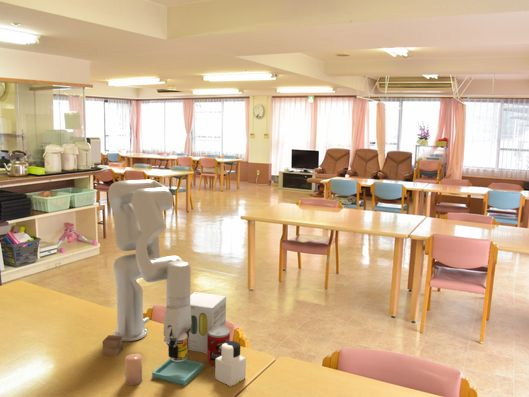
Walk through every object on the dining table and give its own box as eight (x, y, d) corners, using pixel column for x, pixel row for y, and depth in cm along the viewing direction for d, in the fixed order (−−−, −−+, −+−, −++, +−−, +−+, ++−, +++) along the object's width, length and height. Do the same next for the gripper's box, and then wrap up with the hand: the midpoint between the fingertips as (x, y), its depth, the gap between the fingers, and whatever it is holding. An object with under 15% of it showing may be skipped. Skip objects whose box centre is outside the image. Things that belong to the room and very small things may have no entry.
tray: (172, 361, 163) (172, 356, 162) (203, 368, 158) (203, 363, 158) (152, 377, 151) (152, 372, 151) (184, 386, 147) (184, 380, 147)
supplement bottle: (174, 364, 150) (174, 333, 149) (167, 357, 155) (167, 327, 153) (190, 359, 153) (190, 330, 152) (183, 353, 158) (183, 324, 156)
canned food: (209, 367, 159) (209, 336, 157) (205, 356, 167) (205, 326, 165) (231, 365, 161) (232, 334, 160) (226, 354, 169) (227, 325, 167)
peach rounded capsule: (132, 375, 152) (132, 352, 151) (145, 379, 151) (145, 355, 149) (122, 383, 148) (122, 359, 147) (135, 386, 146) (135, 362, 145)
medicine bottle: (229, 370, 157) (230, 336, 156) (245, 378, 153) (246, 343, 151) (214, 379, 152) (215, 344, 150) (230, 387, 147) (231, 351, 146)
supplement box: (178, 348, 172) (178, 302, 169) (194, 334, 184) (194, 291, 182) (212, 354, 168) (213, 308, 165) (226, 339, 180) (226, 295, 178)
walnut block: (109, 348, 171) (108, 335, 170) (122, 349, 170) (122, 336, 170) (102, 354, 166) (102, 341, 165) (116, 355, 165) (116, 342, 165)
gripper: (182, 290, 160) (182, 340, 163) (152, 307, 145) (153, 362, 147) (202, 293, 158) (201, 344, 160) (174, 311, 142) (174, 367, 144)
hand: (178, 352), depth 154 cm, fingers closed on supplement bottle, 5 cm apart
